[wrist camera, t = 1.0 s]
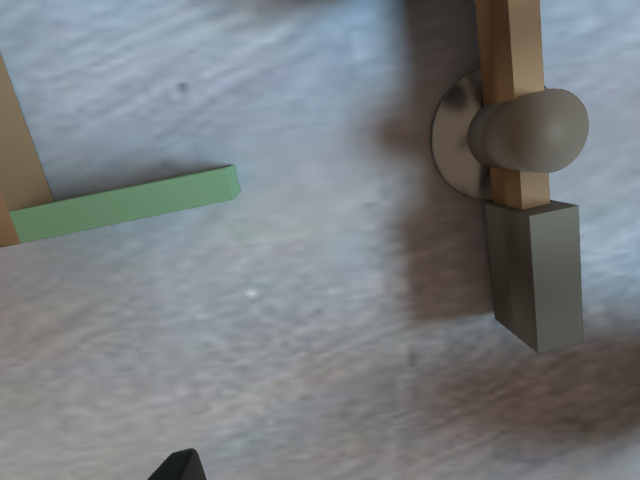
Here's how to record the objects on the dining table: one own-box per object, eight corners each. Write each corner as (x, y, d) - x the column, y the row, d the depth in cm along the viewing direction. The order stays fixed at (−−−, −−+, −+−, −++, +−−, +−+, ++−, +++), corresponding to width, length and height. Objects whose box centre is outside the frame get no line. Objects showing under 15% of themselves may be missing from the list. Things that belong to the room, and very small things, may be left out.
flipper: (541, 308, 20) (609, 349, 16) (485, 320, 20) (539, 366, 16) (510, -209, 15) (598, -345, 11) (434, -197, 15) (493, -330, 11)
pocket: (240, 190, 18) (232, 199, 15) (36, 232, 18) (-12, 249, 15) (162, -130, 15) (134, -196, 12) (-87, -89, 15) (-177, -147, 12)
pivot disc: (556, 185, 19) (560, 185, 19) (438, 210, 19) (440, 211, 19) (550, 54, 18) (554, 53, 18) (422, 79, 18) (424, 78, 17)
